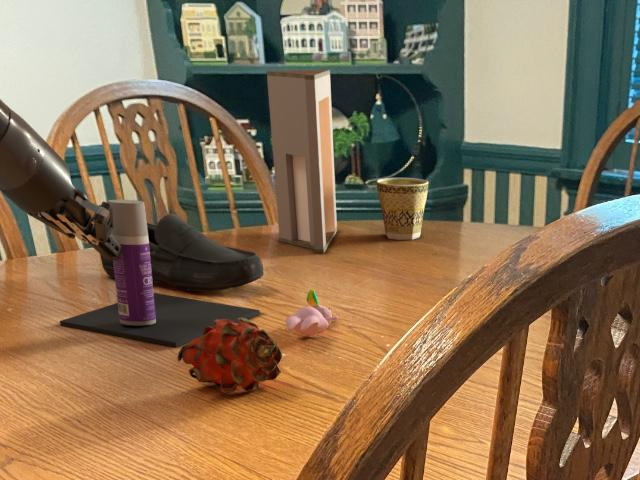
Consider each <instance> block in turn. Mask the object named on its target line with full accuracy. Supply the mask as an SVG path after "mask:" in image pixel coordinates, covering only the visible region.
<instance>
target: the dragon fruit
mask: <svg viewBox="0 0 640 480" xmlns="http://www.w3.org/2000/svg"><path fill="white" fill-rule="evenodd" d="M237 319H238V320H239V323H234V322H233V321H231V320H229V319H220V320H217V319H216V320H214V321H213V323H214V324H215V325H216V326H212V327H210V326H209V327H206V328H205V330H204V333H203V334H202V336H201V337H199V338H196V339H193V340H192V341H191V342H188V343H186V344H183V345H182V347H181V348H180V350H179V351H178V353H177V357H176V359H177V362H181V361H183V363H184V364H186V365H192V367H191V368H190V369H188V374H189V375H190V376H191V378H193V379H195V380H196V381H197V382H198V383H202V384H203V383H204V384H205V383H208V384H214V385H216V386H217V388H220V390H221V392H222V393H223V394H225V395H229V394H231V393H232V392H235V391H236V389H237V388H238V387H241V388H242V390H244V392H253V391H257V390H259V387H260V384H259V383H262V382H265V381H273V380H276V379H277V378H278V377H279V376H280V374H282V371H281V369H280V368H279V366H278V365H279V363H281V360H282V357H283V353H282V351H281V349H280V348H279V347H278V346H277V345H278V344H277V342H276V340H275V339H274V338H273V337H272V336H271V334H269V333H268V332H267V331H266V330H265V329H260V328H259V326H258V325H257V324H256V323H254V322H252V321H250V320H249V319H245V318H237ZM176 359H175V360H176Z"/></svg>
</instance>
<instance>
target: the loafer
mask: <svg viewBox="0 0 640 480" xmlns="http://www.w3.org/2000/svg"><path fill="white" fill-rule="evenodd" d="M147 230H148V239H149V248H150V259H151V270H152V281H153V283H160V284H168V285H170V286H173V287H175V288H176V289H178V290H181V291H190V292H191V291H192V292H214V291H224V290H229V289H235V288H236V289H237V287H238V288H239V287H242V286H245V285H248V284H251V283H253V282H256V281H258V280H260V279H262V278H263V277H264V265H263V262H262V259H261V257H260V256H259V255H258V253H256V252H254V251H249V250H245V249H244V250H243V249H239V248H235V247H231V246H226V245H223V244H220V243H218V242H216V241H214V240H213V239H211V238H209V237H208V236H207V235H206V234H204V233H203V232H202V231H200V230H198V229H197V228H195V227H194V226H193V225H191V224H189V223H187V222H186V221H185V220H183V218H181V217H180V216H179V215H178V214H176V213H167V214H165V215H163V216H162V217H161V218H160V219H159V221H158V222H157V224H153V223H149V222H147ZM99 256H100V260H101V265H102V268H103V270H104V272H105V273H106V275H107V276H108V277H110V278H112V279H115V274H114V265H113V261H112V260H106V259H105V258H104V257H103V256H102V255H101V254H100V253H99Z"/></svg>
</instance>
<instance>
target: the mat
mask: <svg viewBox="0 0 640 480" xmlns="http://www.w3.org/2000/svg"><path fill="white" fill-rule="evenodd" d="M154 304H155V315H156V323H154V324H151V325H142V326H134V325H125V324H122V323H120V319H119V310H118V302H116V303H113V304H110V305H106V306H104V307H103V306H102V307H100V308H98V309H93V310H90V311H87V312H83V313H81V314H77V315H75V316H71V317H67V318H66V319H62V320H59V325H60V326H61V327H62V326H63V327H67V328H73V329H77V330H78V329H79V330H84V331H89V332H95V333H99V334H105V335H111V336H116V337H121V338H126V339H132V340H136V341H140V342H147V343H153V344H157V345H162V346H168V347H172V348H173V347H174V348H177V347H181V346H184V345H186V344H188V343H190V342H191V341H192V340H193V339H196V338H199V337H201V336H202V334H203V333H204V330H205V328H206V327H209V326H210V327H212V326H216V325H215V324H214V323H213V321H214V320H216V319H217V320H220V319H229V320H231V321H233V322H234V323H236V324H238V323H239V320H238V319H237V318H245V319H247V320H249V319H252V318H255V317H256V316H259V315H261V310H260V309H255V308H250V307H243V306H238V305H231V304H226V303H225V304H223V303H219V302H213V301H206V300H201V299H195V298H188V297H182V296H177V295H170V294H164V293H158V292H154Z"/></svg>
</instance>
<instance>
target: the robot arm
mask: <svg viewBox="0 0 640 480" xmlns="http://www.w3.org/2000/svg"><path fill="white" fill-rule="evenodd" d="M72 181H73V180H72V177H71V170H70V167H69V165H68V164H67V162H66V160H64V159H63V158H62V156H61V155H60V154H58V152H57V151H55V149H54V148H53V147H52V146H51V145H50V144H49V143H48V142H47V141H46V140H45V139H44V138H43V137H42V136H41V135H40V134H39V133H38V132H37V131H36V130H35V129H34V128H33V127H32V126H31V125H30V124H29V123H28V121H26V120H25V119H24V118H23V117H22V116H20V114H18V113H17V112H16V111H14V110H13V109H12V108H11V107H9V106H8V105H7V104H6V103H5V102H4V101H3V100H2V99H1V98H0V193H2V194H3V195H4V196H5V197H6V198H7V199H9V201H11V202H12V203H13V204H14V205H15V206H16V207H17V208H18V209H20V210H21V211H22V212H25V213H26V214H27V215H28V216H30V217H32V218H34V219H35V220H37V221H39V222H40V223H42V224H45V225H46V226H47V227H50V228H52V229H54V230H55V231H57V232H59V233H60V234H62V235H64V236H66V237H68V238H69V239H71V240H74V239H75V238H77V239H78V240H79V241H81V242H82V243H84V244H89V246H91V247H92V248H93V249H94V250H95V251H96V252H97V253H98V254H99V255H100V254H101V255H102V256H103V257H104V258H105V259H106V260H112V261H117V260H118V258H119V256H120V254H121V251H122V247H121V245H120V244H119V243H118V242H117V241H116V240H115V239H114V238H113V237H112V236H111V235H110V233H111V231H112V229H113V227H114V220H113V208H112V206H111V205H110V204H109V203H108V201H107V202H106V201H102V202H101V204H96V203H94V202H92V201H89V197H88V195H87V194H86V193H85V192H83V190H81V189H79V188H78V187H77V186H75V185H74V184H73V182H72Z"/></svg>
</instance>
